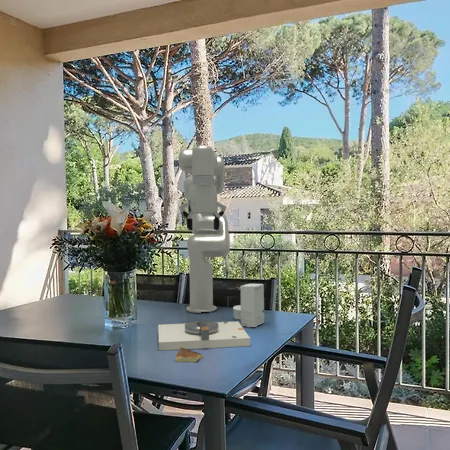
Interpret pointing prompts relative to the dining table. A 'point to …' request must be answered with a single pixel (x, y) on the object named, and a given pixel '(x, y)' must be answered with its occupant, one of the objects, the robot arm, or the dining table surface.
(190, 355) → the shard
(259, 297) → the skincare box
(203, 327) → the dial
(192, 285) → the robot arm
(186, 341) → the board
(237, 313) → the ramekin
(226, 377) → the dining table surface
